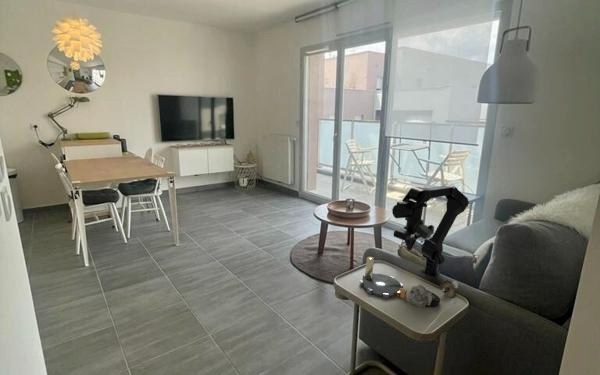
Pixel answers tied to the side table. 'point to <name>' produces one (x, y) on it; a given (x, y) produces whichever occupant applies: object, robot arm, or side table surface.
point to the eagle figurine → (449, 288)
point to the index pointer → (403, 293)
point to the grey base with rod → (379, 282)
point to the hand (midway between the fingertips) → (409, 250)
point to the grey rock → (422, 297)
